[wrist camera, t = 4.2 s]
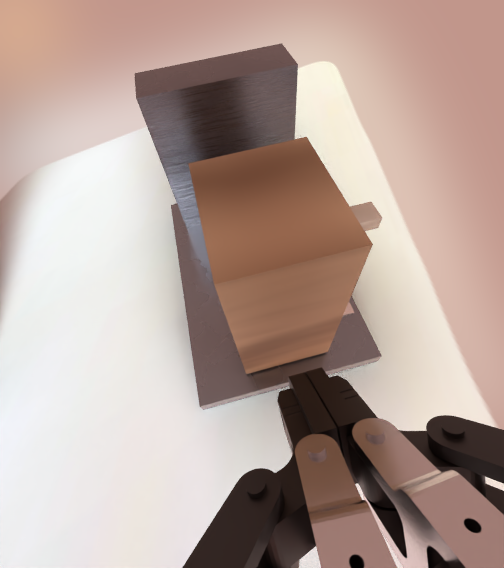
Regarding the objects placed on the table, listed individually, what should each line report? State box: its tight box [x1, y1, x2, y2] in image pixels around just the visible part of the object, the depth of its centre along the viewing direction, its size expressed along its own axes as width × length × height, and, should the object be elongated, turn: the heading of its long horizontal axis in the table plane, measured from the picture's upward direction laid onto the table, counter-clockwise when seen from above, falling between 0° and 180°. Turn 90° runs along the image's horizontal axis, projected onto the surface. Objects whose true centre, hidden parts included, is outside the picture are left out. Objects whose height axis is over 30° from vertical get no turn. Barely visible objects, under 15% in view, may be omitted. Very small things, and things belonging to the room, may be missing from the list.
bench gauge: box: [135, 44, 381, 409], centre depth 18 cm, size 17×11×11 cm, turn 14°
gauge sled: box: [189, 137, 382, 374], centre depth 15 cm, size 6×7×10 cm
